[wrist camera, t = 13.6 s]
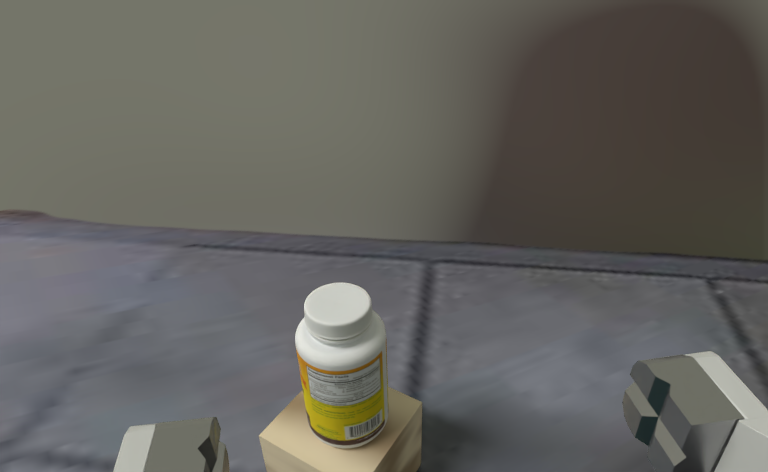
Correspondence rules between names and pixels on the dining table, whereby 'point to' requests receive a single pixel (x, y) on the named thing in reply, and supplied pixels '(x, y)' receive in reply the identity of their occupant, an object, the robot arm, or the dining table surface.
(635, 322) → the dining table surface
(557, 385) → the dining table surface
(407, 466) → the beech block
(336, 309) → the supplement bottle
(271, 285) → the dining table surface
